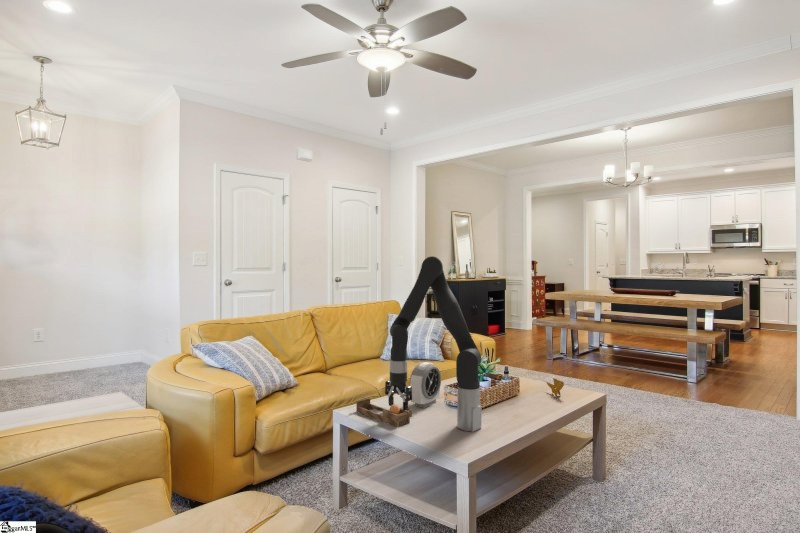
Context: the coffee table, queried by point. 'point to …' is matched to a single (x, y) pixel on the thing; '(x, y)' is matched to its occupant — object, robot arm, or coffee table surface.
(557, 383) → the toy
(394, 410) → the ball
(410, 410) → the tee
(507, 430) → the coffee table surface
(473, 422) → the robot arm
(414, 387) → the alarm clock
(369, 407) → the lane
